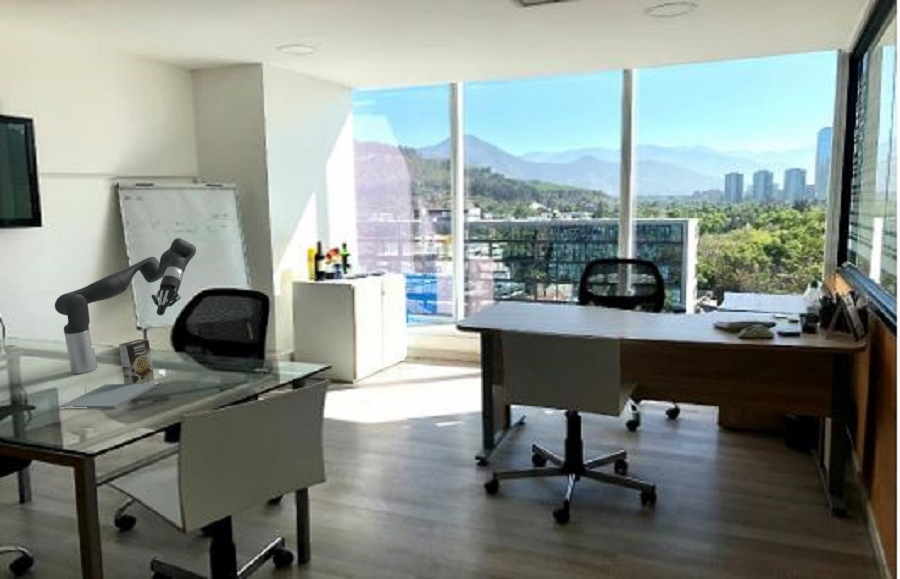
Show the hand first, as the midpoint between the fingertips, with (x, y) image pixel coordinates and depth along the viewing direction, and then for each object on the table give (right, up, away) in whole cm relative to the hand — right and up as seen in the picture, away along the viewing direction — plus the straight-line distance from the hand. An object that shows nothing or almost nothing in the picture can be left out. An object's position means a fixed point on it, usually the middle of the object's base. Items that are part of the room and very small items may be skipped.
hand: (159, 314), depth 281 cm
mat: (-5, -29, -31) cm, 43 cm away
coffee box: (-2, -26, -14) cm, 30 cm away
